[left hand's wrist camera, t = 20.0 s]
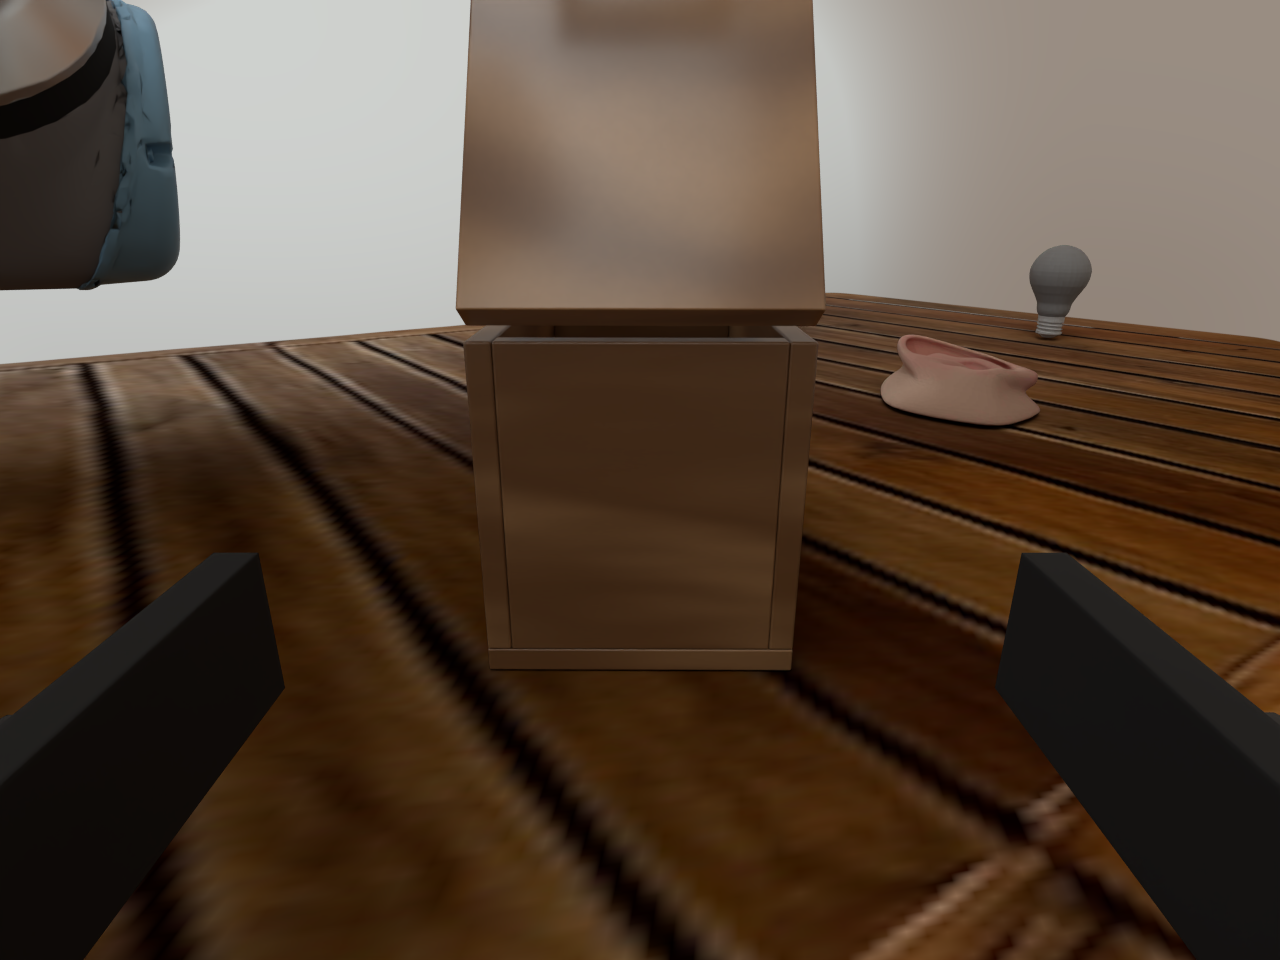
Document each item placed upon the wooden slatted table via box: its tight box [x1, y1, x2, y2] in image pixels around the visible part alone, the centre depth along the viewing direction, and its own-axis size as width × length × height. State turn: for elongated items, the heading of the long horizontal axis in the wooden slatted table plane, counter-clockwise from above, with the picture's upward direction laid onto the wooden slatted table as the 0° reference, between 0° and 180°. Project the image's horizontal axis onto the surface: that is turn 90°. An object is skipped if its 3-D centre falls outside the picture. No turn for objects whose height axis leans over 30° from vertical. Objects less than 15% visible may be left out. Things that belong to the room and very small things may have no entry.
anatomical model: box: [881, 335, 1040, 426], centre depth 55 cm, size 13×4×12 cm
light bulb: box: [1030, 245, 1092, 338], centre depth 82 cm, size 6×6×10 cm
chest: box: [463, 325, 818, 670], centre depth 29 cm, size 15×10×11 cm, turn 0°
